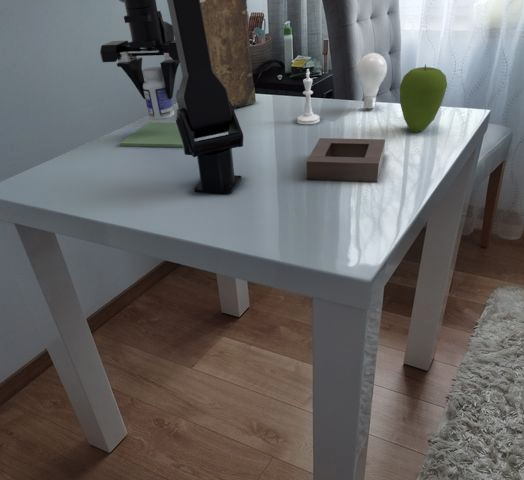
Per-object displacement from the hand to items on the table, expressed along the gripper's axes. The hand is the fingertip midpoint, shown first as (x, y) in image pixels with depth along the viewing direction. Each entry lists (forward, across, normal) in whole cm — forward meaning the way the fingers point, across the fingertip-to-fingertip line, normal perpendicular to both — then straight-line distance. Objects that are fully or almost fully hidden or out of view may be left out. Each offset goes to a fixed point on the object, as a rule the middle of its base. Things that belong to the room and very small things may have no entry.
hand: (158, 98), depth 103 cm
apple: (+8, -52, -6) cm, 53 cm away
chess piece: (+8, -29, -11) cm, 32 cm away
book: (+7, -6, -20) cm, 22 cm away
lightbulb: (+8, -41, -20) cm, 46 cm away
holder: (+8, -41, +15) cm, 44 cm away
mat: (+7, 0, 0) cm, 7 cm away
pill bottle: (+4, 0, 0) cm, 4 cm away
